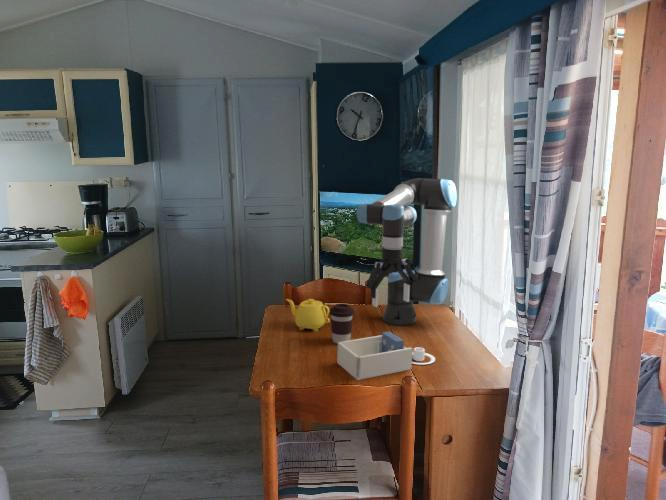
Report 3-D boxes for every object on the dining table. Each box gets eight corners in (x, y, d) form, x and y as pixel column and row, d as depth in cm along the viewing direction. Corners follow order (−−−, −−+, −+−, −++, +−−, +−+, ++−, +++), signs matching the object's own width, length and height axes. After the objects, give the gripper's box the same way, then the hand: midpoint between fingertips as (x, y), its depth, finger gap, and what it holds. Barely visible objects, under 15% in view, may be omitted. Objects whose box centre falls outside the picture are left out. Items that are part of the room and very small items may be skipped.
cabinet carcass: (388, 353, 212) (389, 333, 210) (411, 369, 197) (412, 348, 196) (337, 362, 202) (337, 342, 201) (357, 380, 188) (357, 358, 187)
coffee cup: (351, 346, 218) (351, 310, 215) (326, 344, 220) (327, 308, 217) (355, 337, 228) (356, 303, 225) (331, 336, 229) (332, 301, 226)
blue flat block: (388, 353, 208) (389, 331, 206) (402, 363, 199) (403, 340, 197) (380, 355, 206) (381, 332, 205) (394, 365, 198) (395, 341, 196)
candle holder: (420, 351, 215) (421, 341, 214) (441, 362, 205) (442, 351, 204) (396, 357, 209) (397, 346, 208) (417, 368, 199) (418, 357, 198)
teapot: (325, 334, 231) (325, 305, 228) (280, 329, 236) (280, 301, 233) (334, 324, 244) (334, 296, 241) (291, 319, 249) (291, 292, 246)
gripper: (415, 242, 207) (413, 296, 211) (357, 248, 196) (356, 305, 201) (426, 246, 200) (424, 301, 205) (367, 253, 189) (366, 311, 194)
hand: (390, 303), depth 203 cm, fingers open, 13 cm apart
